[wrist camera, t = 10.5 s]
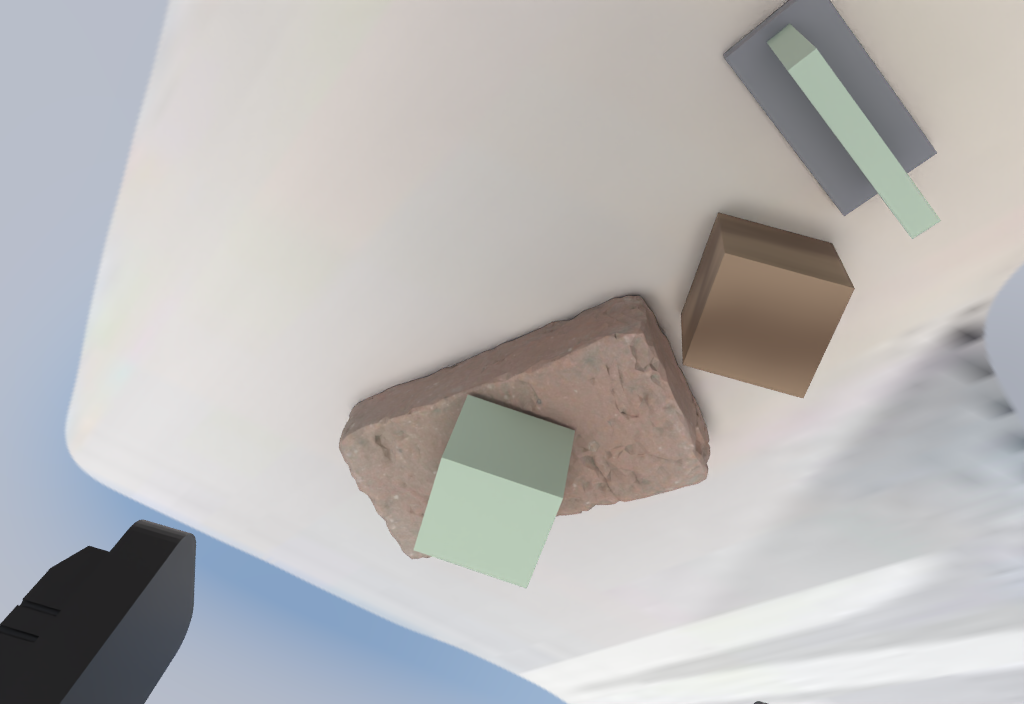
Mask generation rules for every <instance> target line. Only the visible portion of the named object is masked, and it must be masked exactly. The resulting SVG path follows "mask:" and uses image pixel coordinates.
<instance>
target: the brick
mask: <svg viewBox="0 0 1024 704" xmlns="http://www.w3.org/2000/svg"><path fill="white" fill-rule="evenodd" d="M467 395H471V396H474V397H477V398H480V399H483V400H486V401H489V402H492V403H495V404H498V405H501V406H503V407H506V408H509V409H512V410H515V411H518V412H521V413H524V414H527V415H530V416H533V417H536V418H539V419H542V420H545V421H548V422H551V423H554V424H557V425H560V426H563V427H566V428H569V429H572V430H575V434H574V440H573V445H572V451H571V456H570V462H569V468H568V473H567V479H566V485H565V490H564V496H563V500H562V502H561V505H560V507H559V510H558V512H557V515H556V516H559V515H572V514H579V513H581V512H582V511H588V510H590V509H591V508H592V507H593V506H595V505H610V504H615V503H617V502H618V501H624V502H626V501H632V500H636V499H641V498H646V497H649V496H653V495H657V494H660V493H664V492H668V491H672V490H676V489H679V488H682V487H685V486H690V485H694V484H698V483H700V482H701V481H703V480H705V479H706V477H707V473H708V466H707V464H706V463H707V461H708V459H709V456H710V446H709V444H708V442H709V436H708V431H707V427H706V424H705V422H704V420H703V417H702V414H701V411H700V409H699V407H698V405H697V402H696V400H695V398H694V397H693V396H692V394H691V391H690V389H689V387H688V384H687V382H686V379H685V377H684V375H683V373H682V371H681V370H680V368H679V367H678V365H677V363H676V360H675V357H674V354H673V352H672V349H671V346H670V344H669V341H668V340H667V338H666V336H665V335H663V334H662V332H661V330H660V328H659V326H658V325H657V321H656V318H655V316H654V314H653V312H652V311H651V310H650V309H649V308H648V306H647V304H646V303H645V301H644V300H643V299H642V298H641V297H640V296H628V295H627V296H625V297H622V298H613V299H611V300H609V301H607V302H605V303H603V304H601V305H598V306H596V307H593V308H591V309H587V310H585V311H583V312H581V313H580V314H579V315H578V316H576V317H575V318H574V319H572V320H564V321H556V322H551V323H550V324H548V325H546V326H544V327H543V328H540V329H538V330H535V331H533V332H531V333H529V334H526V335H524V336H522V337H520V338H517V339H515V340H513V341H509V342H506V343H503V344H501V345H499V346H497V347H496V348H494V349H493V350H488V351H484V352H482V353H480V354H479V355H476V356H474V357H472V358H470V359H467V360H465V361H463V362H460V363H458V364H456V365H454V366H452V367H448V368H443V369H441V370H439V371H438V372H436V373H434V374H432V375H430V376H428V377H424V378H420V379H416V380H413V381H410V382H408V383H404V384H400V385H397V386H394V387H392V388H389V389H387V390H385V391H384V392H382V393H380V394H378V395H375V396H372V397H370V398H368V399H366V400H364V401H362V402H360V403H358V404H357V405H356V406H354V408H353V409H352V411H351V413H350V415H349V416H350V418H349V420H348V422H347V423H346V425H345V428H344V429H343V431H342V435H341V438H340V442H339V449H340V451H341V453H342V456H343V458H344V460H345V462H346V463H347V464H348V465H349V469H350V472H351V475H352V476H353V477H354V478H355V480H356V483H357V485H358V488H359V490H360V491H362V492H364V493H365V494H367V495H368V496H369V498H370V499H371V501H372V503H373V505H374V507H375V509H376V511H377V513H378V514H379V515H380V516H381V517H382V518H383V519H384V520H385V521H386V524H387V527H388V529H389V531H390V533H391V535H392V536H393V537H394V538H395V539H396V540H397V542H398V543H399V545H400V547H401V548H402V551H403V552H404V553H405V554H406V555H408V556H409V557H410V558H411V559H419V558H422V557H424V558H429V557H432V556H429V555H426V554H423V553H420V552H417V551H414V547H415V543H416V540H417V537H418V533H419V530H420V527H421V524H422V520H423V517H424V514H425V511H426V507H427V504H428V501H429V497H430V494H431V491H432V488H433V484H434V481H435V478H436V474H437V471H438V468H439V465H440V461H441V458H442V455H443V453H444V451H445V448H446V446H447V443H448V441H449V439H450V436H451V434H452V431H453V429H454V427H455V424H456V422H457V419H458V417H459V415H460V412H461V410H462V407H463V405H464V403H465V400H466V398H467Z"/></svg>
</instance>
